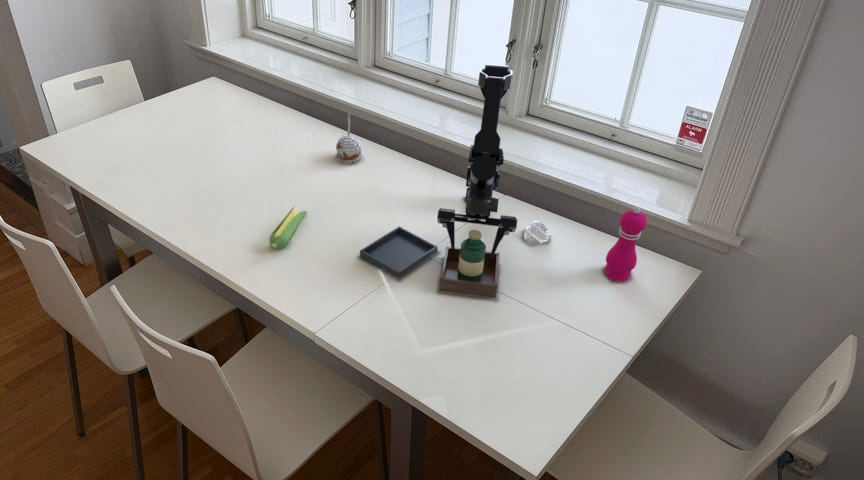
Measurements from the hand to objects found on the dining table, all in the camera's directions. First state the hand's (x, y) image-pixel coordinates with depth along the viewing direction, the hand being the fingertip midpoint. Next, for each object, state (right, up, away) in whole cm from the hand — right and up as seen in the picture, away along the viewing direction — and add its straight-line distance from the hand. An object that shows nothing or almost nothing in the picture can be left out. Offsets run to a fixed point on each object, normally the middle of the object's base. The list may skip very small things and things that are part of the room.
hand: (472, 255), depth 158 cm
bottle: (0, -5, +5) cm, 7 cm away
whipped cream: (+20, +5, +21) cm, 29 cm away
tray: (-17, 0, +13) cm, 21 cm away
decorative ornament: (-32, +32, +52) cm, 69 cm away
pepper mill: (+37, -5, +9) cm, 39 cm away
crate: (0, -6, +6) cm, 8 cm away
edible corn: (-46, +6, +19) cm, 51 cm away
